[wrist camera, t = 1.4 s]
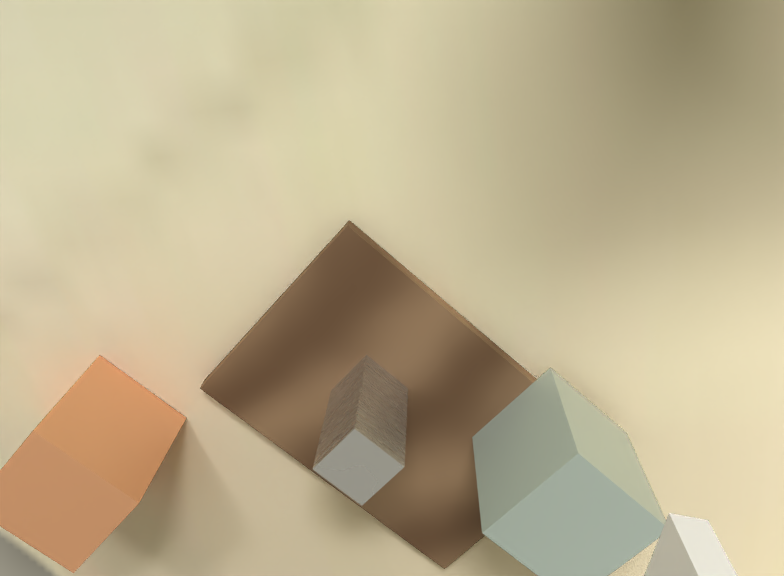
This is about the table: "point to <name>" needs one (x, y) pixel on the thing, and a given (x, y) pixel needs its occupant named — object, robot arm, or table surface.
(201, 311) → the table surface
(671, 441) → the table surface
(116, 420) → the orange block
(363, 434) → the post
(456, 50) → the table surface
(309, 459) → the stand
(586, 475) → the pale blue-grey block
